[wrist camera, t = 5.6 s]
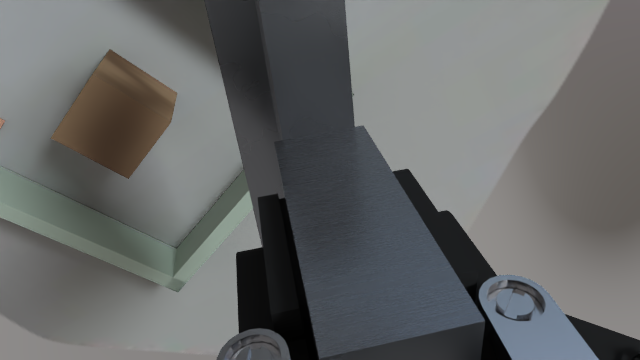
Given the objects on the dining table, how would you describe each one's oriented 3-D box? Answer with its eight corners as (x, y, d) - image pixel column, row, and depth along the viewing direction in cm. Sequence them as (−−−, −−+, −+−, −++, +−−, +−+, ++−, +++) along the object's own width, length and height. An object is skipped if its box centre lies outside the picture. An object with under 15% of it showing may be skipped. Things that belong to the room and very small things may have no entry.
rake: (267, 256, 22) (310, 602, 11) (192, -72, 15) (101, 7, 4) (343, 240, 22) (456, 562, 12) (307, -88, 15) (530, -58, 4)
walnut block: (73, 105, 32) (50, 138, 27) (110, 48, 30) (92, 74, 26) (139, 143, 34) (128, 178, 30) (177, 92, 32) (171, 122, 28)
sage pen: (-19, 172, 33) (-42, 199, 30) (141, -90, 26) (131, -87, 24) (181, 263, 40) (178, 292, 37) (342, 77, 34) (353, 94, 31)
